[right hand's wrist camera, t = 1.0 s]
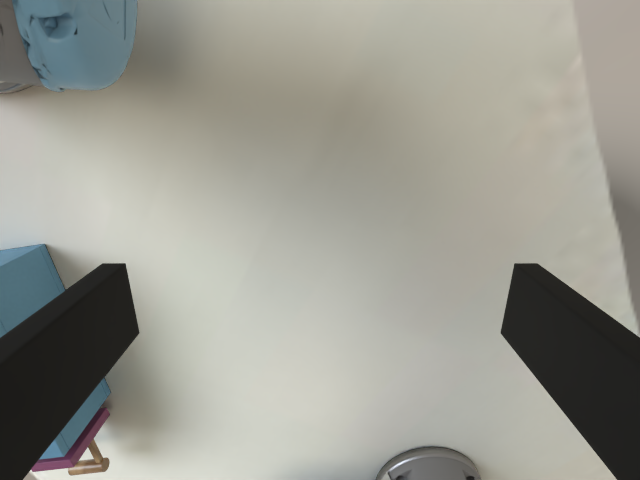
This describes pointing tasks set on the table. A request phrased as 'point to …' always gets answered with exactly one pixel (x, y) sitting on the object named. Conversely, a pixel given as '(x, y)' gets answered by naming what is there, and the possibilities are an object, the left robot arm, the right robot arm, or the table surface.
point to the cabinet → (24, 300)
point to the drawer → (80, 451)
